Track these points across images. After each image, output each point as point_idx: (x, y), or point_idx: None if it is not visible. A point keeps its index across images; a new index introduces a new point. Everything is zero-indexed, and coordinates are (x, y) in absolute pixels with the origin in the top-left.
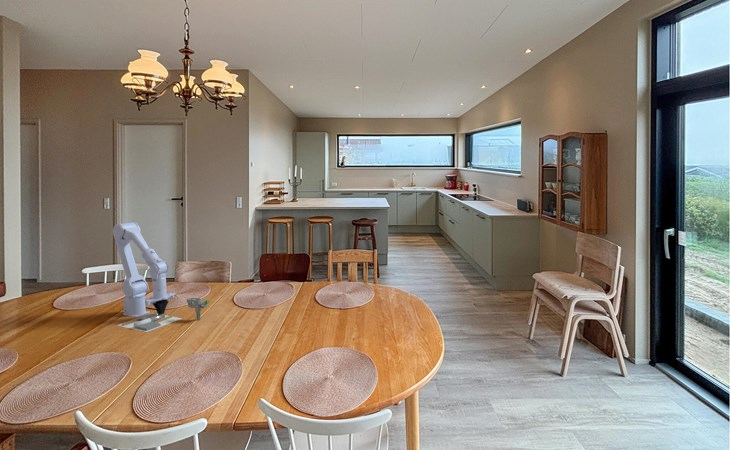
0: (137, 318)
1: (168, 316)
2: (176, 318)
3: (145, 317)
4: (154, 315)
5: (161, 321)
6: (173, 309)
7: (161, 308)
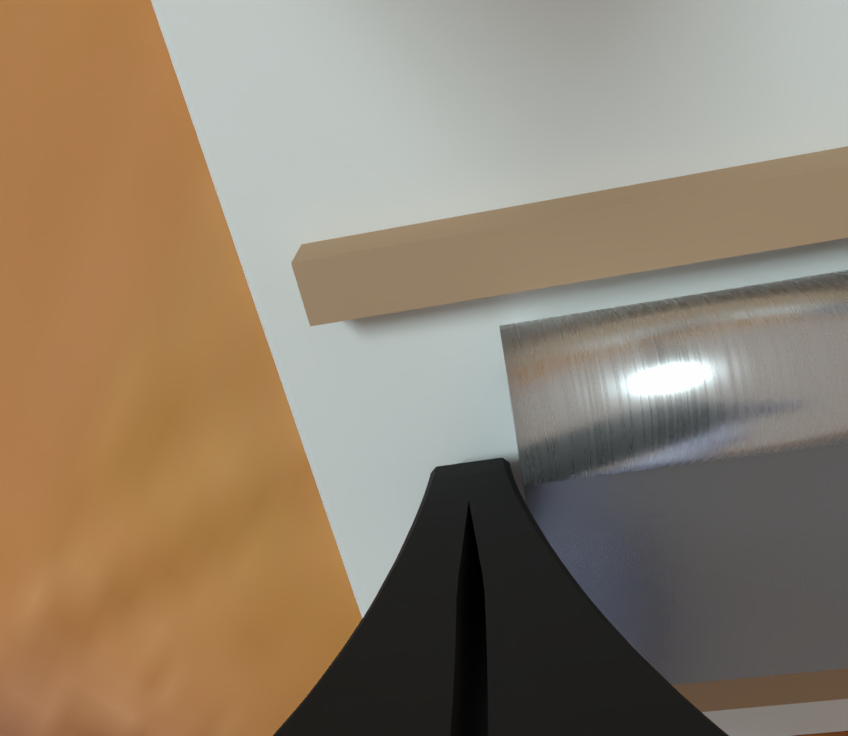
0: (786, 725)
1: (398, 298)
2: (249, 33)
3: (824, 618)
4: (611, 590)
5: (710, 167)
6: (39, 698)
7: (568, 627)
